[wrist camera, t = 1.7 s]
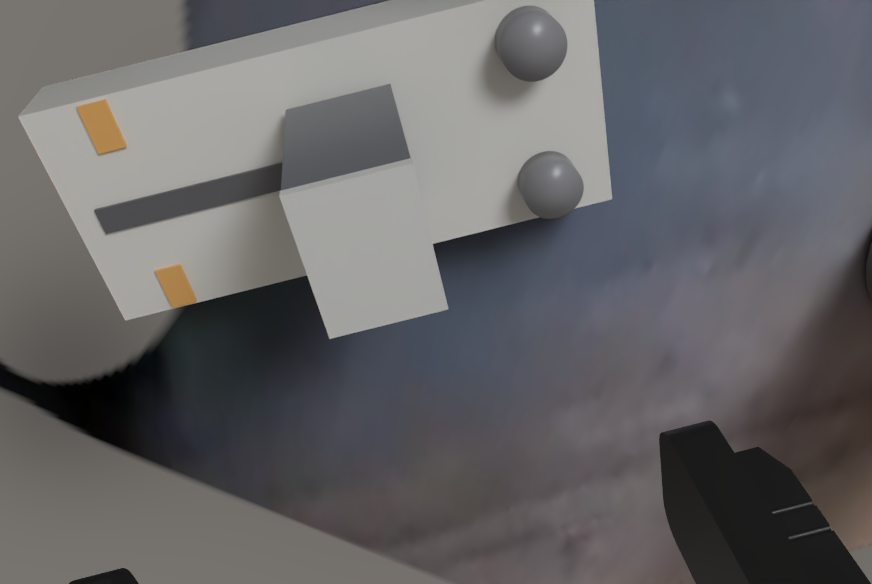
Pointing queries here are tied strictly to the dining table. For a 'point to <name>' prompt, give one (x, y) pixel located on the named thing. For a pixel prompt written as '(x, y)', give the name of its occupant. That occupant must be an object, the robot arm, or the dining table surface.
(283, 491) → the dining table surface
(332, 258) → the fader tab
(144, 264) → the console
